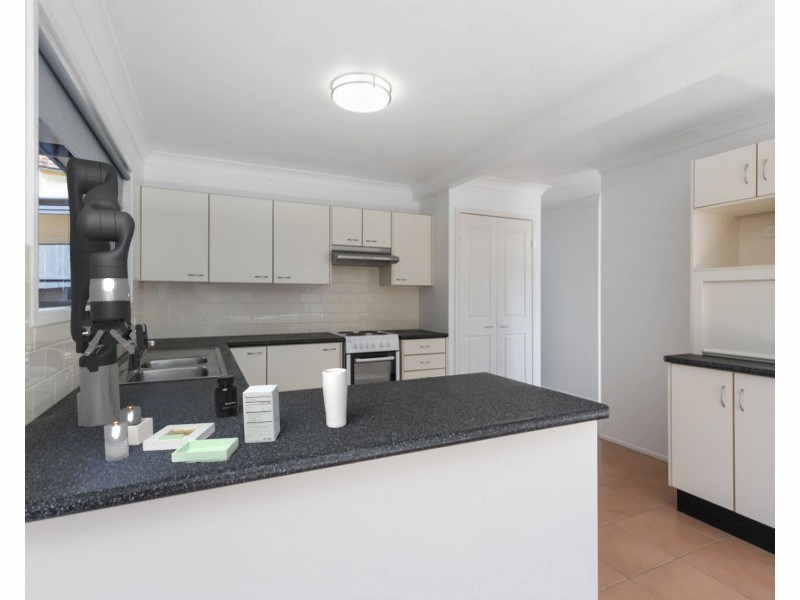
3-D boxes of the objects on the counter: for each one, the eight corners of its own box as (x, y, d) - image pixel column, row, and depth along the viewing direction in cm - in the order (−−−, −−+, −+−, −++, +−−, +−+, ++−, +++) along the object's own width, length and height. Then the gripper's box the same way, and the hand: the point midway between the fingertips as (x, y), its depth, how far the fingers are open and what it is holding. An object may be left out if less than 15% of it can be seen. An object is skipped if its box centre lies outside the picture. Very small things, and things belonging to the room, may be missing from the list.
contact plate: (163, 442, 100) (163, 438, 100) (174, 434, 106) (174, 430, 106) (188, 441, 100) (187, 437, 100) (198, 433, 106) (197, 429, 106)
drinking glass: (328, 431, 107) (326, 374, 107) (320, 424, 113) (318, 370, 113) (352, 426, 110) (350, 371, 110) (344, 420, 116) (342, 367, 116)
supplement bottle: (230, 419, 120) (228, 378, 120) (209, 419, 122) (207, 378, 121) (243, 412, 127) (242, 374, 127) (223, 412, 128) (222, 373, 128)
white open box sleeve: (108, 448, 100) (107, 427, 100) (125, 438, 107) (124, 419, 107) (138, 446, 101) (137, 426, 101) (153, 436, 108) (152, 417, 108)
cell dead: (117, 444, 102) (115, 409, 102) (127, 437, 106) (126, 404, 106) (135, 442, 102) (134, 408, 102) (145, 436, 106) (143, 403, 106)
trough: (172, 464, 89) (171, 453, 89) (188, 450, 97) (187, 440, 97) (226, 460, 90) (226, 450, 90) (238, 447, 98) (238, 437, 98)
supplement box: (252, 433, 108) (250, 385, 108) (280, 431, 109) (279, 383, 108) (243, 443, 101) (241, 392, 100) (274, 441, 101) (272, 390, 101)
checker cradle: (143, 452, 97) (142, 439, 97) (168, 435, 109) (167, 423, 109) (196, 449, 98) (195, 436, 97) (215, 432, 110) (214, 420, 109)
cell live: (101, 463, 91) (99, 425, 91) (113, 455, 95) (111, 419, 95) (121, 462, 91) (120, 424, 91) (133, 454, 96) (131, 418, 96)
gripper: (64, 300, 88) (68, 376, 89) (134, 298, 90) (137, 372, 90) (88, 300, 96) (91, 369, 96) (152, 297, 97) (155, 366, 97)
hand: (114, 371), depth 93 cm, fingers open, 8 cm apart
